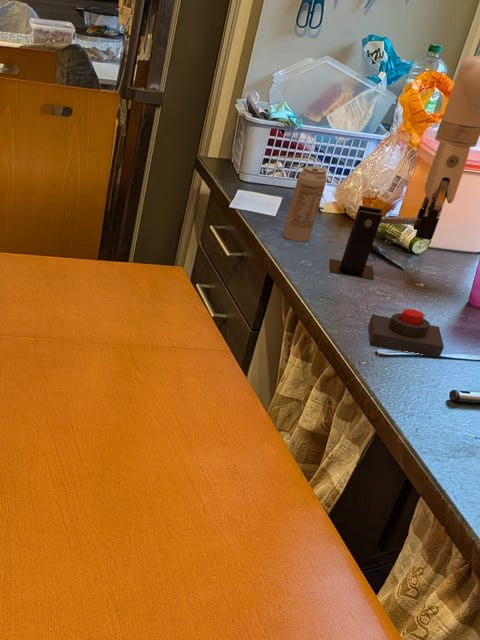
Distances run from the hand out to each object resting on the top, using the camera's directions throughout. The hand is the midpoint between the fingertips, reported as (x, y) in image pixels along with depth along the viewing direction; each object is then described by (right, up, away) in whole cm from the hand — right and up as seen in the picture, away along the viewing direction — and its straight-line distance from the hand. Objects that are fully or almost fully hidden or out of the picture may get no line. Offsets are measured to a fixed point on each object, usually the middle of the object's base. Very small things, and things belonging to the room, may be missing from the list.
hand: (422, 233), depth 186 cm
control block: (-12, -28, -19) cm, 36 cm away
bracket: (-12, -5, +8) cm, 15 cm away
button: (-12, -25, -21) cm, 35 cm away
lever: (-6, +2, +1) cm, 6 cm away
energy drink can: (-18, +8, +23) cm, 31 cm away
